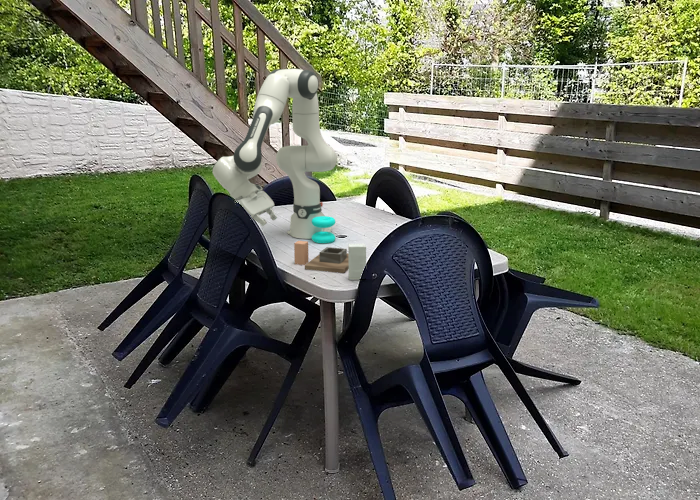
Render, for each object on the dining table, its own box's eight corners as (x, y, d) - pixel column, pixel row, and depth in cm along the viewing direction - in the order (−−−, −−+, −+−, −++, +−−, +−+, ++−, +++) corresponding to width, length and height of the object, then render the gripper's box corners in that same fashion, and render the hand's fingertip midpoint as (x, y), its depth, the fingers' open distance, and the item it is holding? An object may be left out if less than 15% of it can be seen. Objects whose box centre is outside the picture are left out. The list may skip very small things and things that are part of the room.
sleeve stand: (323, 254, 250) (323, 242, 248) (360, 258, 246) (360, 245, 244) (304, 269, 231) (304, 256, 230) (344, 273, 227) (344, 259, 226)
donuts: (314, 215, 273) (337, 216, 271) (315, 237, 276) (337, 238, 274) (308, 220, 264) (332, 221, 262) (309, 243, 266) (332, 244, 265)
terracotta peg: (298, 261, 241) (298, 240, 239) (308, 262, 240) (308, 241, 238) (294, 264, 238) (294, 243, 236) (304, 265, 237) (304, 244, 234)
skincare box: (365, 276, 224) (365, 243, 221) (366, 280, 220) (366, 246, 217) (348, 276, 224) (348, 243, 220) (348, 280, 220) (348, 246, 216)
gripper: (237, 193, 228) (263, 222, 228) (262, 184, 247) (286, 211, 246) (227, 205, 230) (252, 233, 230) (252, 195, 249) (275, 221, 249)
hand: (270, 221), depth 238 cm, fingers open, 8 cm apart
